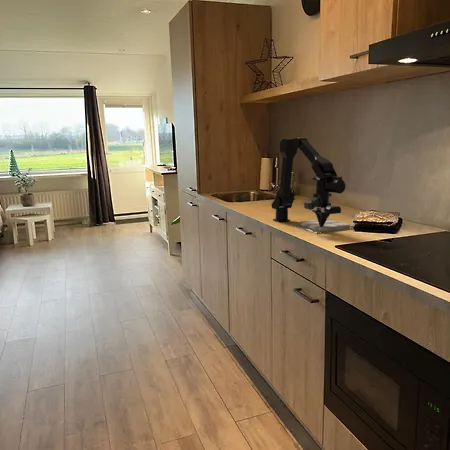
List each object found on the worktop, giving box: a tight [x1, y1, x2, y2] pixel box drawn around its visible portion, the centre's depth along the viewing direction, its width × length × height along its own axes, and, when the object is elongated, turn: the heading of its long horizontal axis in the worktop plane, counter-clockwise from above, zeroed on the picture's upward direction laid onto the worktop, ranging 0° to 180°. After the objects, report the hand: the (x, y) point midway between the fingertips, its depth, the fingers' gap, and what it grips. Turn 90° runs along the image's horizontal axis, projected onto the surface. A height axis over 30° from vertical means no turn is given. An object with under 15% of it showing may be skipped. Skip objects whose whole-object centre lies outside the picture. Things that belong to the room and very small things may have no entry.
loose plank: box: [298, 219, 339, 231], centre depth 189 cm, size 16×10×2 cm, turn 24°
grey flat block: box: [326, 218, 351, 229], centre depth 192 cm, size 16×6×2 cm, turn 24°
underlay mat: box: [291, 223, 353, 234], centre depth 189 cm, size 19×19×1 cm
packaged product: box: [349, 212, 361, 227], centre depth 195 cm, size 18×5×10 cm
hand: (321, 226), depth 182 cm, fingers closed, pressing on loose plank
